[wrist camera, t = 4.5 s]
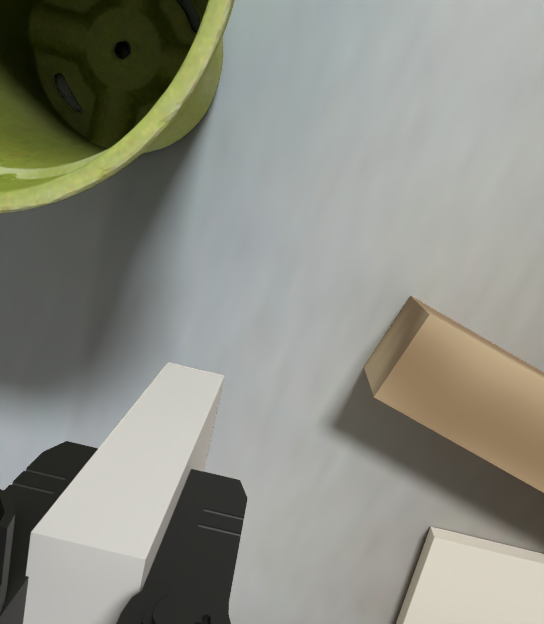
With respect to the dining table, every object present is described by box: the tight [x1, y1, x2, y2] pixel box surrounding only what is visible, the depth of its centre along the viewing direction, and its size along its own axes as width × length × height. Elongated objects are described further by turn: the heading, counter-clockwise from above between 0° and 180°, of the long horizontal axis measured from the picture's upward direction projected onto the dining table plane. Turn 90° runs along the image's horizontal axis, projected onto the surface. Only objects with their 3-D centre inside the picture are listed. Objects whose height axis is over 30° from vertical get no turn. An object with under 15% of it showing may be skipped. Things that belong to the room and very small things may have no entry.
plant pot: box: [0, 0, 234, 214], centre depth 11 cm, size 9×9×9 cm
